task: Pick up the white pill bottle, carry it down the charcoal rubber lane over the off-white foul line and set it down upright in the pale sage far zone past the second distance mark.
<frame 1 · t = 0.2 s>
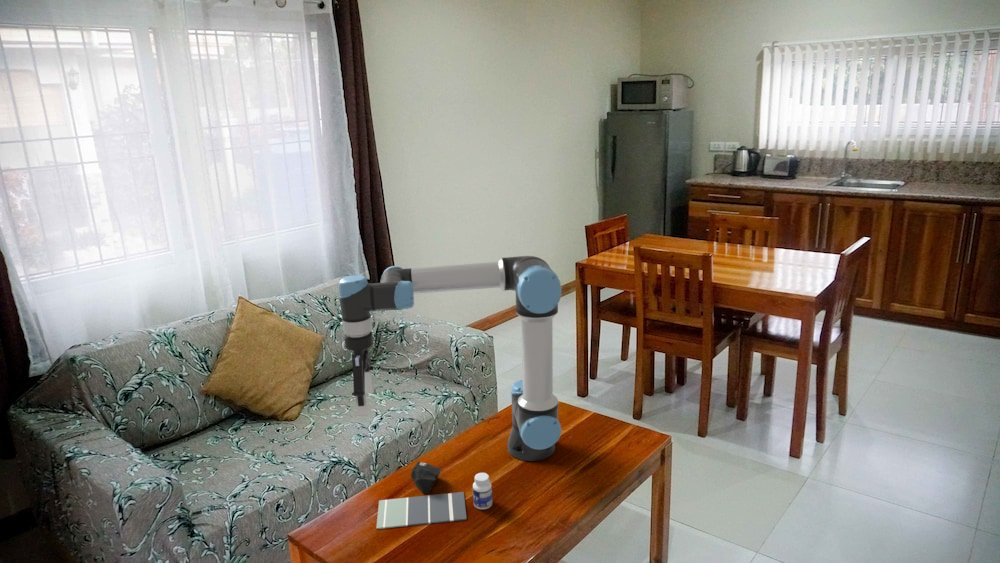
hand: (365, 403, 179), 28 cm above the table, fingers open, 13 cm apart
rock: (428, 483, 189), on the table
lane: (421, 510, 177), on the table
pill bottle: (483, 504, 179), on the table
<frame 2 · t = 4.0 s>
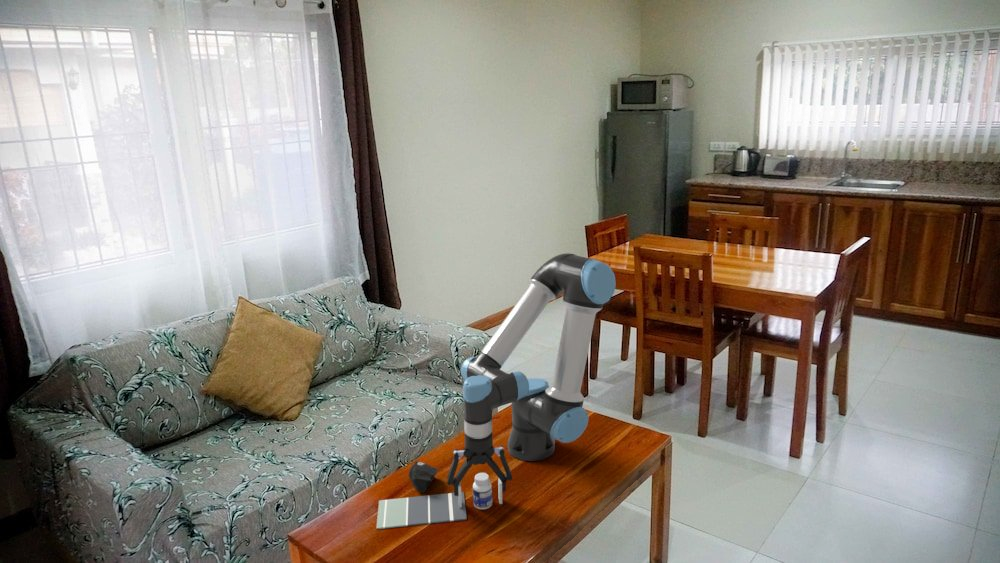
hand: (480, 502, 178), 0 cm above the table, fingers open, 11 cm apart
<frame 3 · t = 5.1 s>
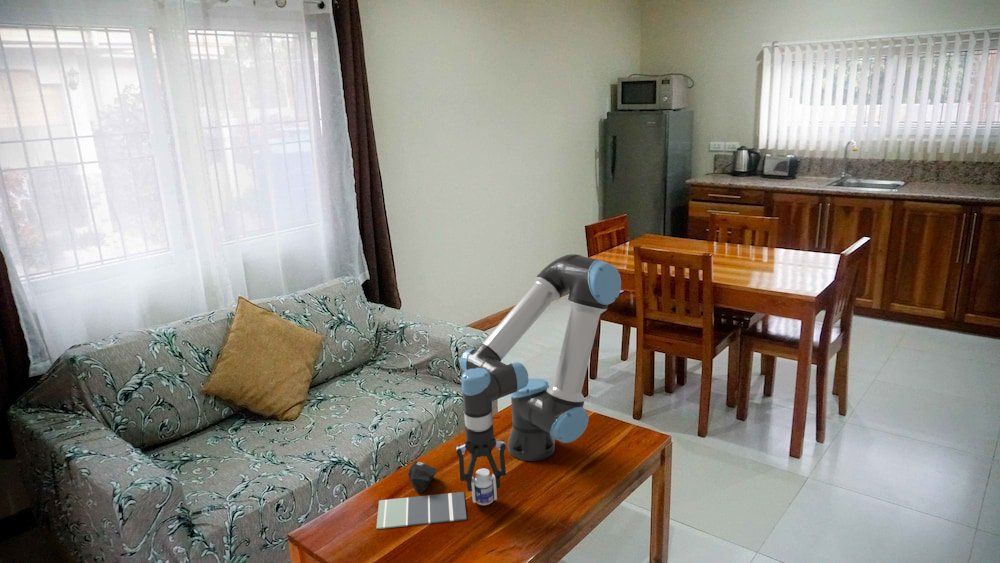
hand: (484, 498, 178), 2 cm above the table, fingers closed on pill bottle, 5 cm apart
pill bottle: (484, 500, 179), point 1 cm above the table, touching gripper
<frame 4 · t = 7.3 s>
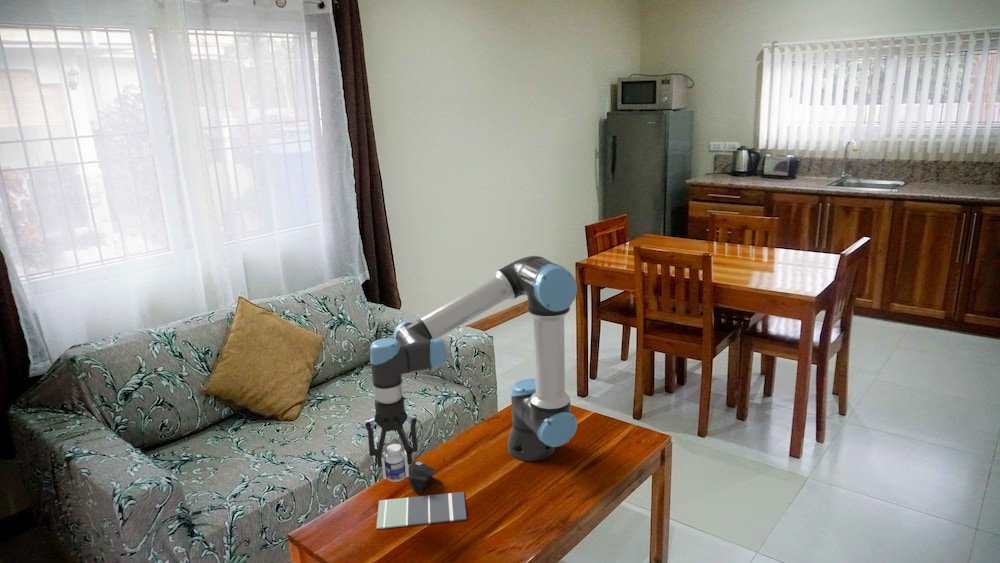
hand: (396, 475, 173), 12 cm above the table, fingers closed on pill bottle, 5 cm apart
pill bottle: (396, 477, 173), point 11 cm above the table, touching gripper
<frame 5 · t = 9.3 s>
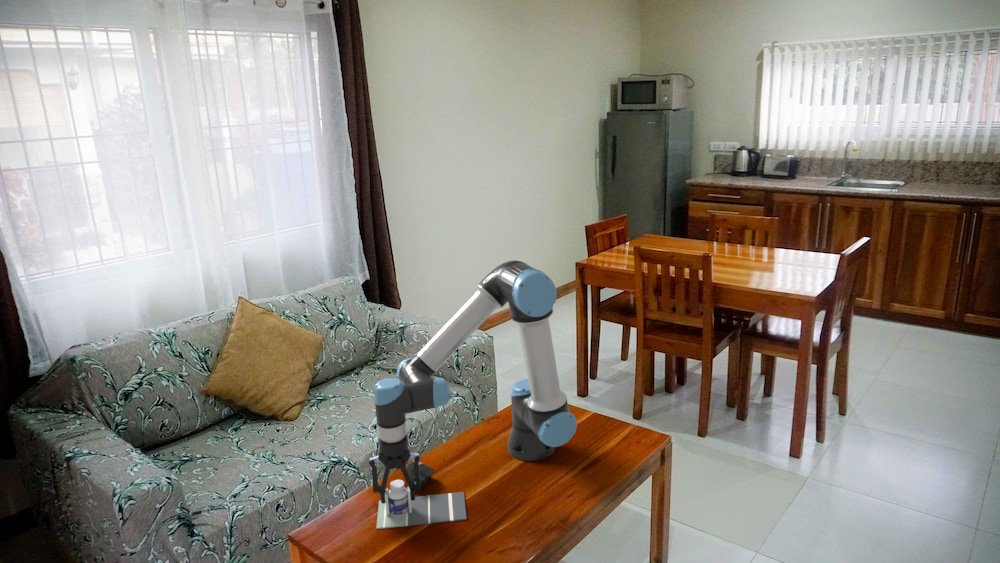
hand: (399, 510, 176), 1 cm above the table, fingers closed on pill bottle, 5 cm apart
pill bottle: (399, 512, 176), resting on lane, touching gripper
when the fingers open (1 cm above the table, at t = 10.0 s): pill bottle stays where it is, resting on lane.
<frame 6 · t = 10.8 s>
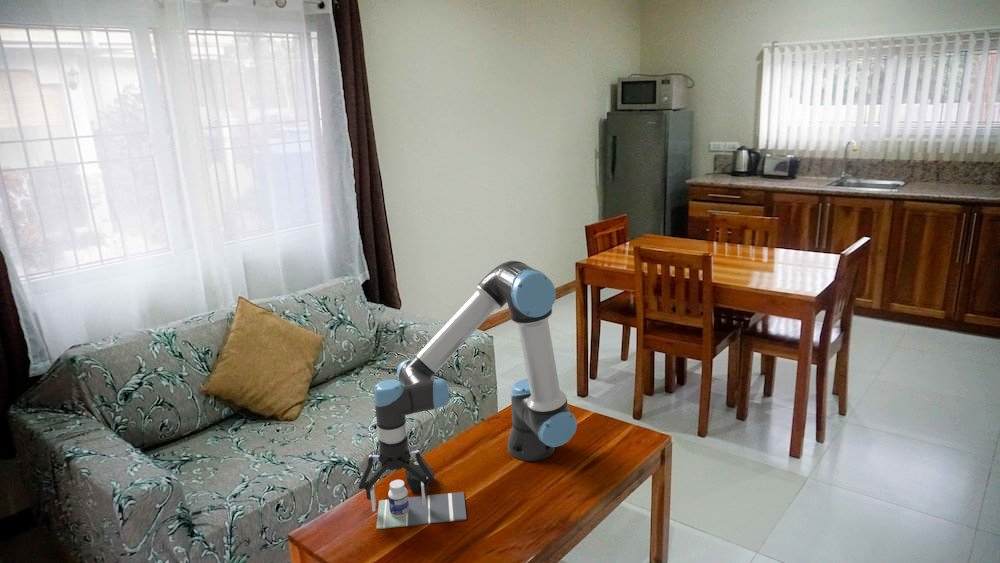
hand: (399, 505, 175), 2 cm above the table, fingers open, 13 cm apart
pill bottle: (399, 512, 176), resting on lane
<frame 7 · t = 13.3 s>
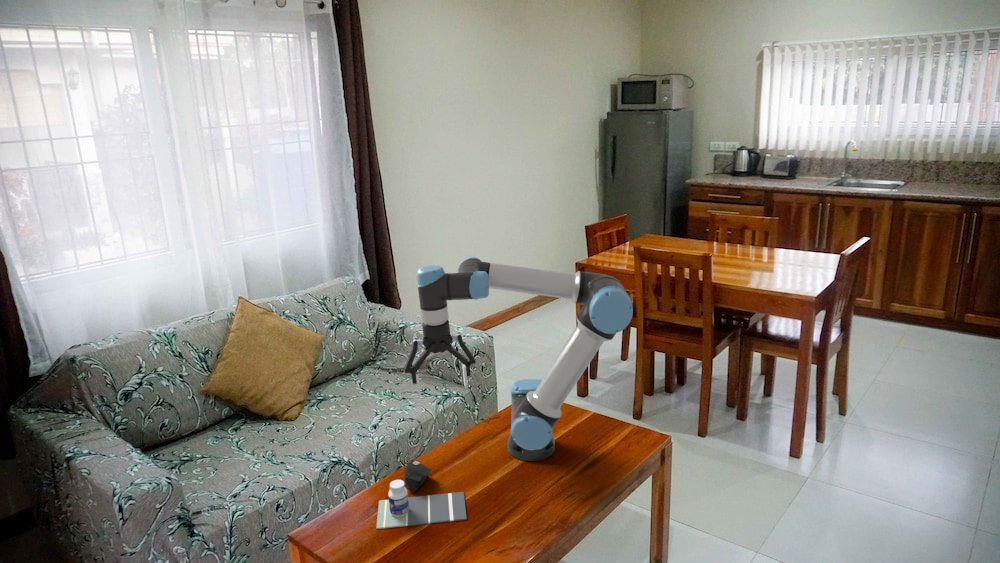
hand: (442, 389, 185), 28 cm above the table, fingers open, 13 cm apart
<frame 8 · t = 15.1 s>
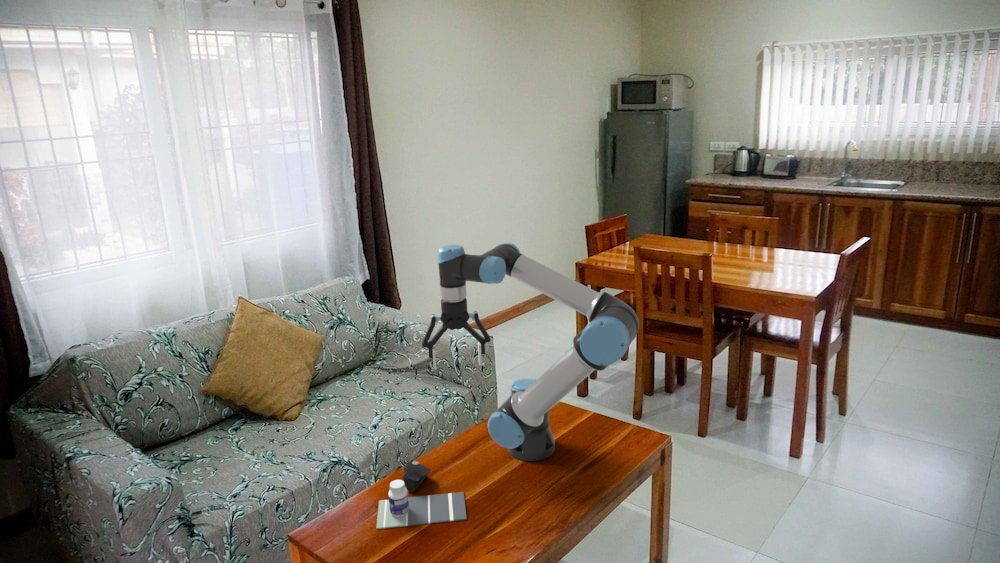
hand: (457, 365, 192), 32 cm above the table, fingers open, 13 cm apart
at the end: pill bottle inside the target area (1.5 cm from its centre), resting on lane; pill bottle tilted 0°; the gripper is holding nothing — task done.
